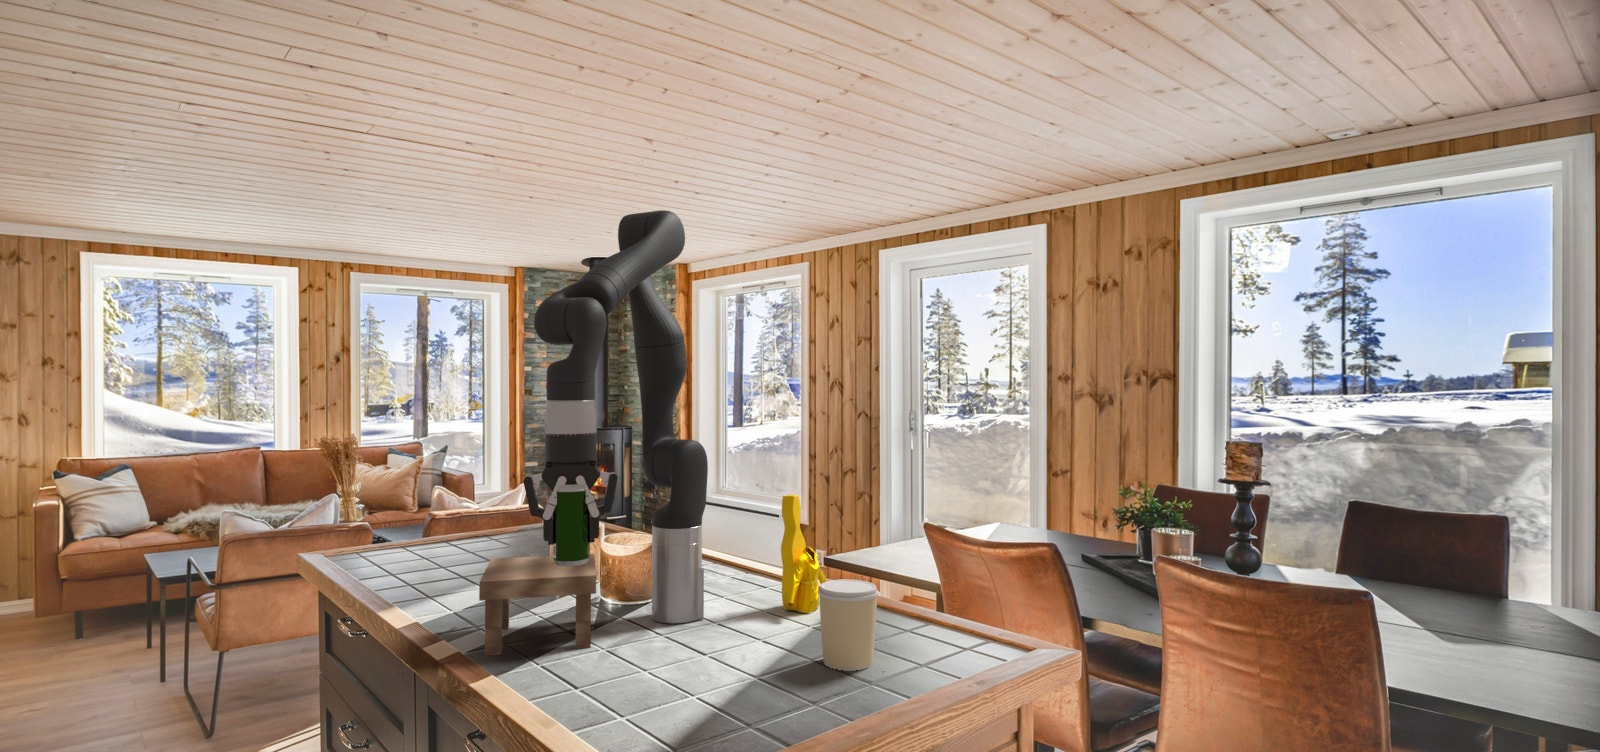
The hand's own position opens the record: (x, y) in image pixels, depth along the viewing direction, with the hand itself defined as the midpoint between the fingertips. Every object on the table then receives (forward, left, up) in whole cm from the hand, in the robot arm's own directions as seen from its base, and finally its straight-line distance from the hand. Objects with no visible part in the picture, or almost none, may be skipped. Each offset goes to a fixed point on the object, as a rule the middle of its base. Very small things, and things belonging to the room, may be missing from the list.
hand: (571, 542), depth 123 cm
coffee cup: (-42, +6, -20) cm, 47 cm away
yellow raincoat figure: (-43, -26, -20) cm, 54 cm away
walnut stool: (+5, -20, -20) cm, 28 cm away
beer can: (0, 0, -3) cm, 3 cm away
